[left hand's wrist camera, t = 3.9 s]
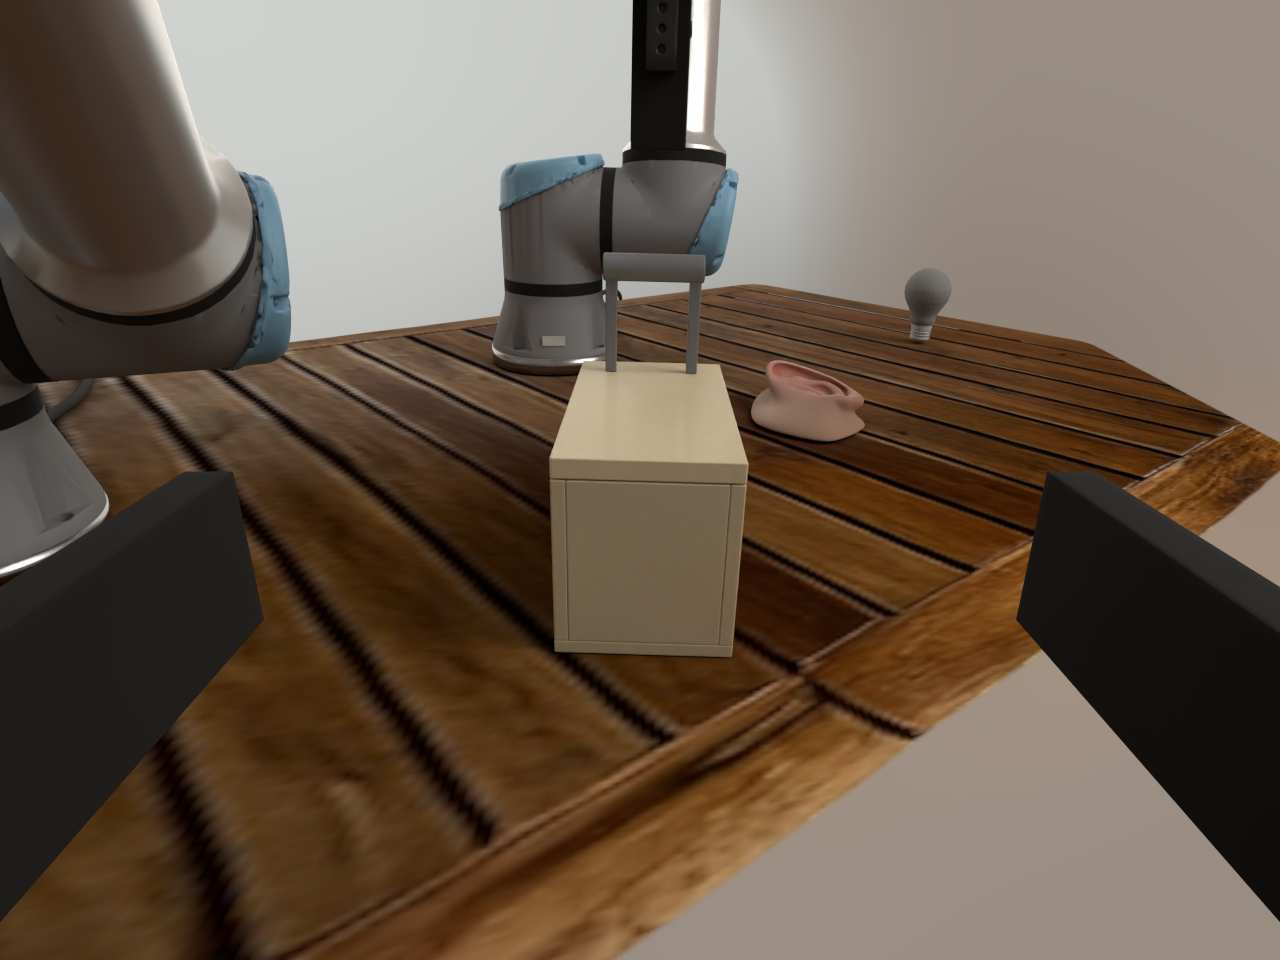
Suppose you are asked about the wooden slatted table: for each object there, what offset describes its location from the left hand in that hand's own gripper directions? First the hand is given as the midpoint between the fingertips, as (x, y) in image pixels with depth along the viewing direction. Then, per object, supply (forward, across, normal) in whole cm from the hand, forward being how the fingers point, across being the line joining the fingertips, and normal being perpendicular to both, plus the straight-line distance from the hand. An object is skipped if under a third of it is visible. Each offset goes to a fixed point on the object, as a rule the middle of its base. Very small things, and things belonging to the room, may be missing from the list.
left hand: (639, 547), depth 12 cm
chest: (+30, 0, -17) cm, 35 cm away
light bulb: (+95, +39, -15) cm, 104 cm away
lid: (+30, +1, -7) cm, 31 cm away
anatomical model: (+61, +16, -16) cm, 65 cm away
